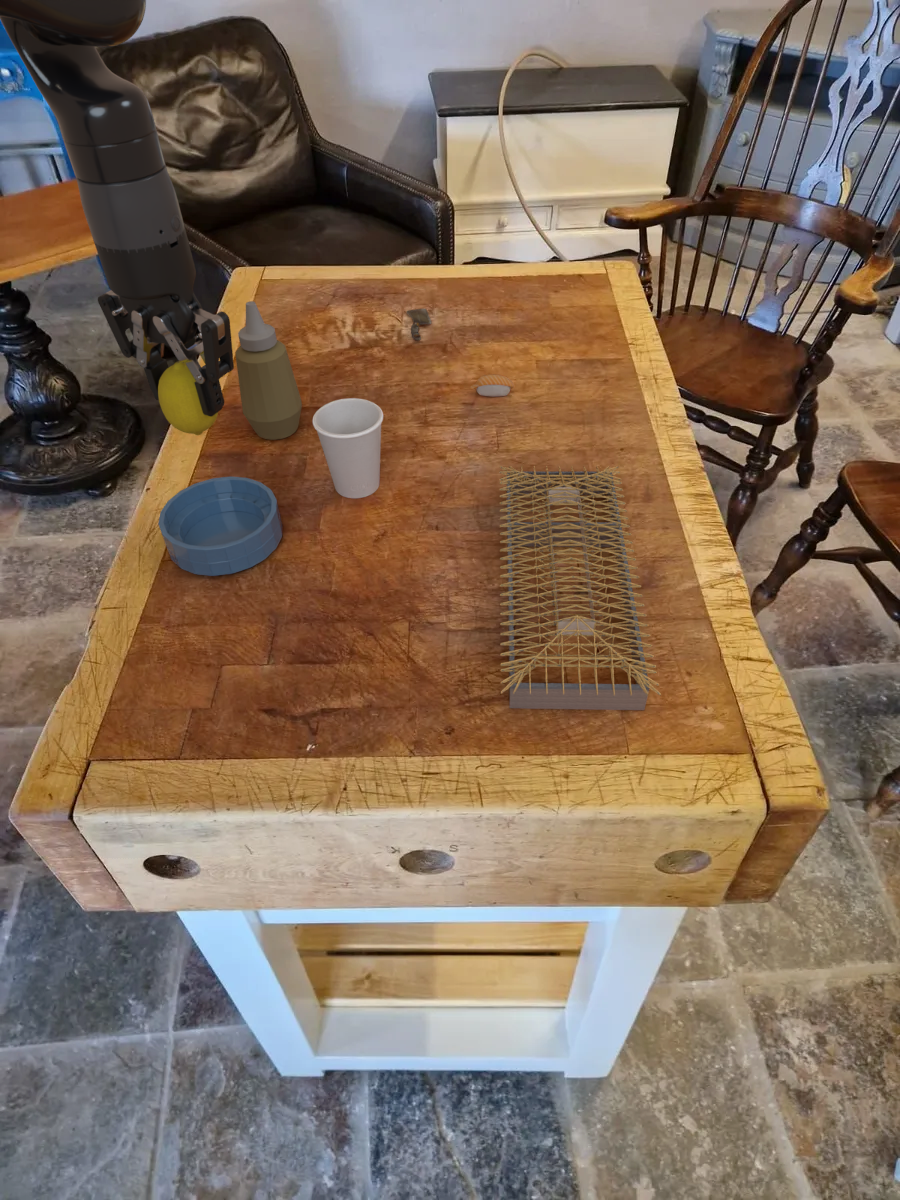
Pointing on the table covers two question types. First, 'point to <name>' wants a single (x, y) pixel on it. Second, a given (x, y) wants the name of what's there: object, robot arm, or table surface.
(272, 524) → the bowl
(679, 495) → the table surface
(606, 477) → the rafter model
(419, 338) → the grey post
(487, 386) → the sushi
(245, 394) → the squeeze bottle
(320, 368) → the table surface
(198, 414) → the lemon
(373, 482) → the dixie cup
